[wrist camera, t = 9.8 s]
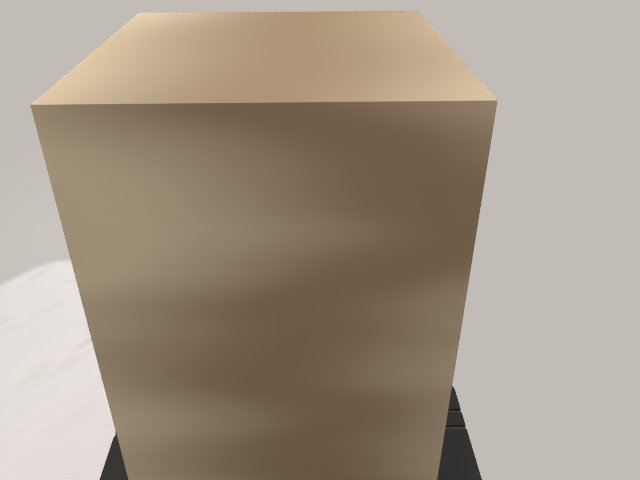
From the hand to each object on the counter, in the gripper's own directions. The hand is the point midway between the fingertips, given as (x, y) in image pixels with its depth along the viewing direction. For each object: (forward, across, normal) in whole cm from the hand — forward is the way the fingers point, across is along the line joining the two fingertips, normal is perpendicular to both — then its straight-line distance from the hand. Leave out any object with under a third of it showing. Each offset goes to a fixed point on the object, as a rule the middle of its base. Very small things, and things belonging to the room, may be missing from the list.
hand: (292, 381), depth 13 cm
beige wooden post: (-3, 0, +10) cm, 10 cm away
